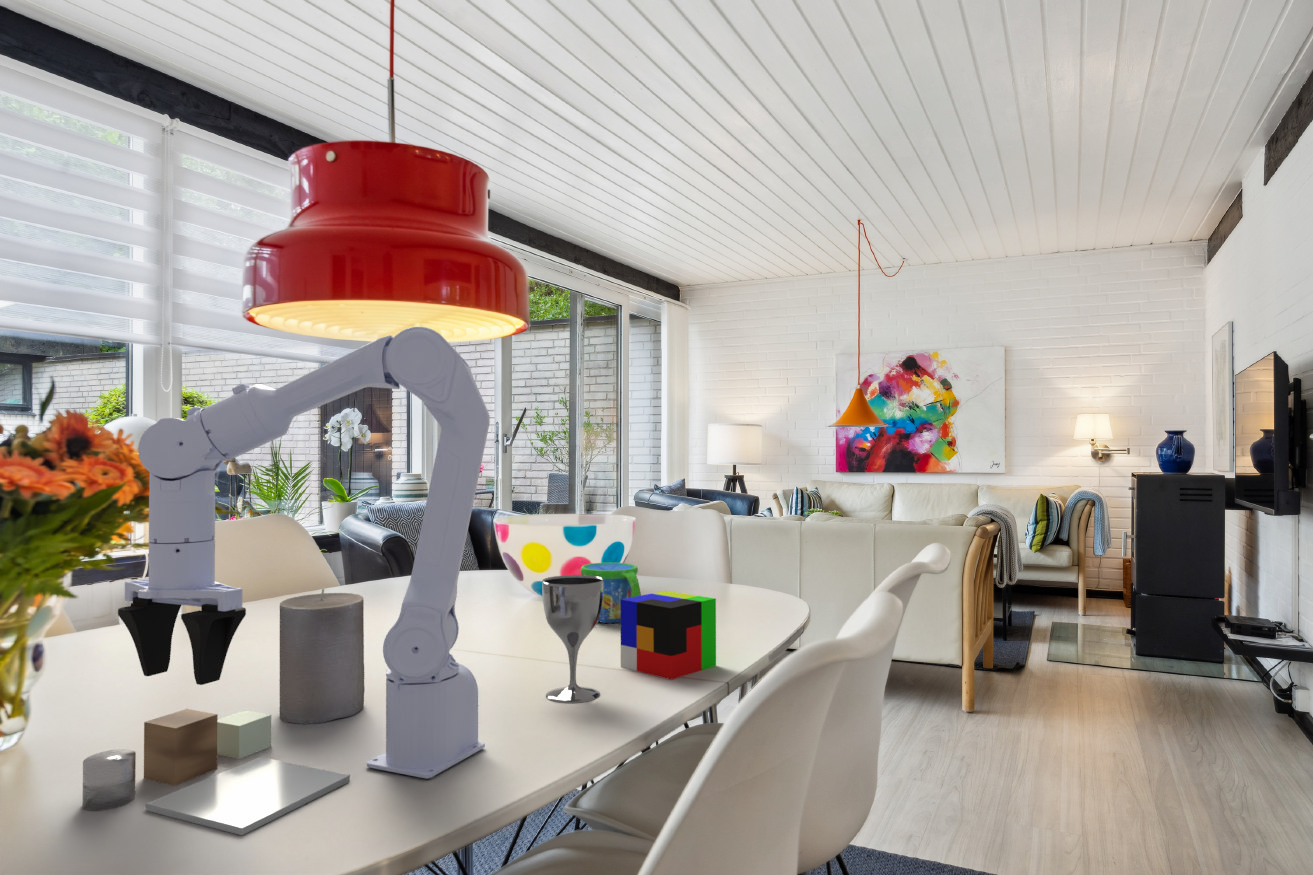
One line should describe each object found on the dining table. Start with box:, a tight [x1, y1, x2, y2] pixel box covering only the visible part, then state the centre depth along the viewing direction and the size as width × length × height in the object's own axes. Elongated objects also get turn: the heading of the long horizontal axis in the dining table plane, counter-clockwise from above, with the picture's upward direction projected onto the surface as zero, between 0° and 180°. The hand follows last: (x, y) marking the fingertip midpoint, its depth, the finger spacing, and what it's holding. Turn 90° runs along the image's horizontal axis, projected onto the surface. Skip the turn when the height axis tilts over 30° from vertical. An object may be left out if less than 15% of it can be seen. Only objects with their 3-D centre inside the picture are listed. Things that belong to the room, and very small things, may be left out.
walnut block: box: [143, 708, 219, 786], centre depth 81 cm, size 4×4×6 cm
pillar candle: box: [279, 588, 365, 725], centre depth 100 cm, size 10×10×15 cm
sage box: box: [217, 709, 272, 760], centre depth 87 cm, size 4×4×4 cm
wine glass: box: [541, 574, 603, 704], centre depth 107 cm, size 8×8×15 cm
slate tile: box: [145, 756, 351, 836], centre depth 75 cm, size 12×12×1 cm
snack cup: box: [580, 562, 642, 624], centre depth 154 cm, size 16×10×10 cm
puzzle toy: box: [620, 590, 717, 680], centre depth 121 cm, size 10×10×10 cm
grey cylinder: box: [82, 748, 137, 812], centre depth 74 cm, size 4×4×4 cm
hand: (181, 677), depth 81 cm, fingers open, 7 cm apart
